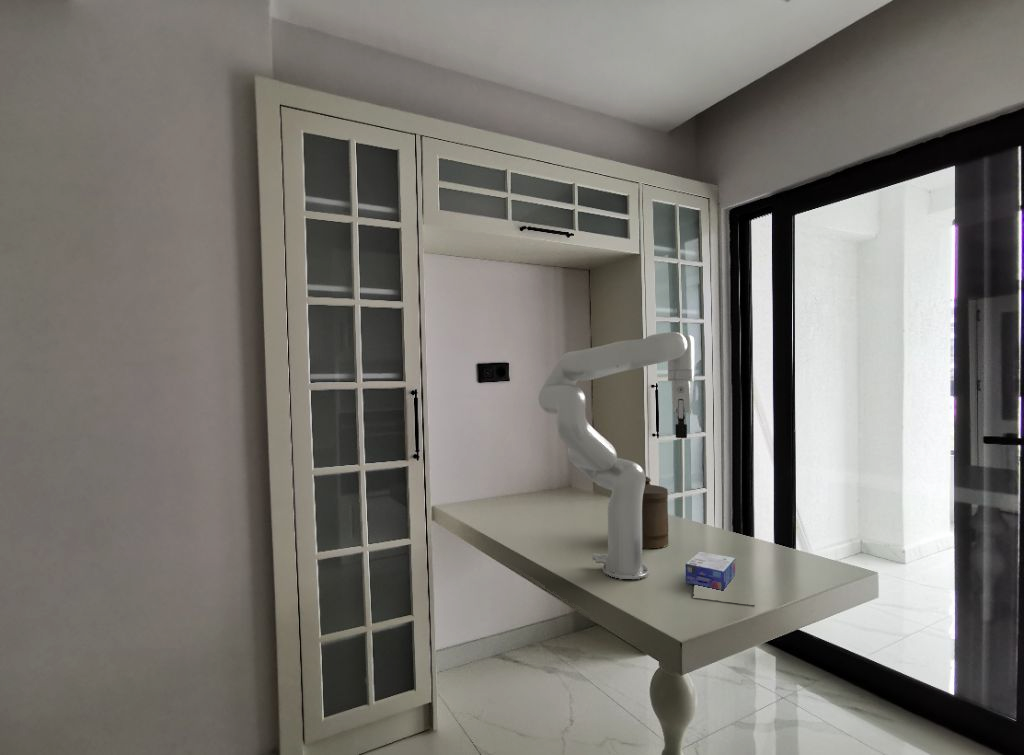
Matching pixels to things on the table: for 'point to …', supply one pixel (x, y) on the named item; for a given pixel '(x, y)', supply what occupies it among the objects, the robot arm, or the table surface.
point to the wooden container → (654, 516)
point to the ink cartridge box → (710, 570)
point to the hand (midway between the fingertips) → (681, 437)
